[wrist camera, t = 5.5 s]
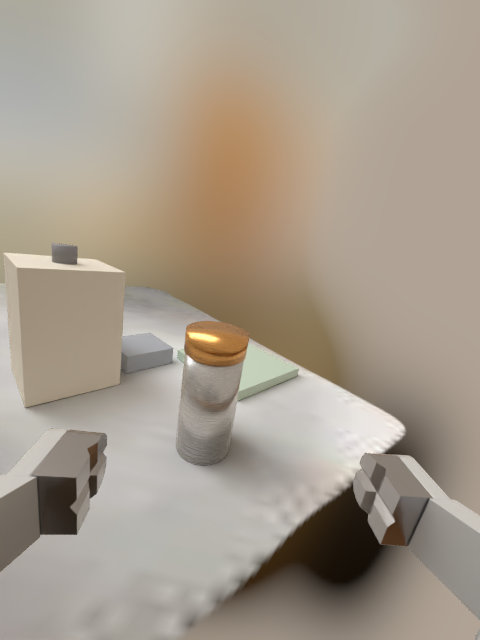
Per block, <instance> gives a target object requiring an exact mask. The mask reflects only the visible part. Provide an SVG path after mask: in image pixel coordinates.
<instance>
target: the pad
mask: <svg viewBox="0 0 480 640" xmlns="http://www.w3.org/2000/svg"><path fill="white" fill-rule="evenodd" d="M177 358H178V359H179V360H181V361H182V362H183V363H184V359H185V351H184V349H181V350H178V355H177ZM298 370H299V368H297V367H295V366H293V365H291V364H289V363H287V362H285V361H283V360H281V359H279V358H277V357H275V356H273V355H271V354H269V353H267V352H265V351H263V350H261V349H259V348H257V347H255V346H253V345H251V344H249V343H248V347H247V353H246V358H245V360H244V363H243V369H242V374H241V380H240V386H239V392H238V398H237V401H239V400H241V399H244V398H246V397H248V396H251V395H253V394H255V393H258V392H260V391H263V390H265V389H267V388H270V387H272V386H275V385H277V384H279V383H282V382H284V381H286V380H289V379H291V378H294V377H296V376H297V374H298Z"/></svg>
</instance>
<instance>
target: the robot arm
mask: <svg viewBox="0 0 480 640" xmlns="http://www.w3.org/2000/svg"><path fill="white" fill-rule="evenodd" d="M106 445H107V435H106V434H105V433H96V432H86V431H76V430H63V429H53V428H51V429H49V430H47V431H46V432H45V433H44V434H43V435H42V436H41V437H40V438H39V439H38V440H37V441H36V442H35V444H34V445H33V446H32V447H31V448H30V449H29V450H28V451H27V452H26V454H25V455H24V456H23V457H22V458H21V459H20V460H19V461H18V462H17V463H16V465H15V466H14V467H13V468H12V469H11V470H10V471H9V472H8V473H7V474H6V475H0V572H1V571H2V570H3V569H4V568H5V567H6V566H8V565H9V564H10V563H11V562H12V561H13V560H14V559H16V558H17V557H18V556H19V555H20V554H21V553H22V552H24V551H25V550H26V549H27V548H28V547H29V546H30V545H32V544H33V543H34V542H35V541H36V540H37V539H38V538H39V537H40V535H77V534H78V532H79V530H80V527H81V525H82V523H83V521H84V519H85V517H86V515H87V513H88V511H89V505H90V498H92V497H93V496H94V495H96V494H97V492H98V490H99V488H100V486H101V483H102V480H103V477H104V474H105V468H106V456H105V455H104V453H103V451H104V449H105V447H106ZM360 465H361V467H362V469H361V470H360V471H358V472H357V473H356V475H355V478H354V481H353V485H354V493H355V497H356V499H357V502H358V504H359V505H360V507H361V508H362V509H363V510H365V511H366V512H367V513H368V514H369V515H368V522H369V524H370V526H371V528H372V530H373V532H374V534H375V535H376V537H377V539H378V541H379V543H380V544H381V545H396V546H408V549H409V550H410V551H411V552H412V553H413V554H414V555H415V556H416V557H417V558H418V559H419V560H420V561H421V562H422V563H423V564H424V565H425V566H426V567H427V568H428V569H429V570H430V571H431V572H432V573H433V574H434V575H435V576H436V577H437V578H438V579H439V580H440V581H441V582H442V583H443V584H444V585H445V586H446V587H447V588H448V589H449V590H450V591H451V592H452V593H453V594H454V595H455V596H456V597H457V598H458V599H459V600H460V601H461V602H462V603H463V604H464V605H465V606H466V607H467V608H468V609H469V610H470V611H471V612H472V613H473V614H474V615H475V616H476V617H477V618H478V619H479V620H480V516H479V515H478V514H476V513H475V512H473V511H471V510H470V509H468V508H467V507H465V506H464V505H462V504H460V503H459V502H457V501H456V500H450V499H449V498H448V496H447V495H446V494H445V493H444V492H443V491H442V490H441V488H440V487H439V486H438V485H437V484H436V483H435V482H434V481H433V480H432V479H431V477H430V476H429V475H428V474H427V473H426V472H425V471H424V470H423V469H422V467H421V466H420V465H419V464H418V463H417V462H416V461H415V460H414V459H413V458H412V457H410V456H407V455H385V454H371V453H365V454H364V455H363V456H362V458H361V460H360ZM475 640H480V630H479V631H478V633H477V634H476V638H475Z"/></svg>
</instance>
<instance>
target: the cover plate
mask: <svg viewBox="0 0 480 640" xmlns="http://www.w3.org/2000/svg"><path fill="white" fill-rule="evenodd" d="M172 355H173V348H172V347H171V346H169V345H168V344H166V343H165V342H163V341H162V340H160V339H159V338H157V337H156V336H154V335H153V334H151V333H146V334H138V335H130V336H123V337H122V351H121V369H122V370H123V371H125V372H126V373H132V372H136V371H140V370H144V369H149V368H153V367H157V366H162V365H166V364H170V363H172Z"/></svg>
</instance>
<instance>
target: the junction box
mask: <svg viewBox="0 0 480 640" xmlns="http://www.w3.org/2000/svg"><path fill="white" fill-rule="evenodd" d="M3 255H4V268H5V282H6V297H7V311H8V325H9V339H10V353H11V367H12V371H13V374H14V377H15V380H16V383H17V386H18V389H19V392H20V394H21V397H22V400H23V403H24V406H25V408H26V407H30V406H34V405H38V404H42V403H46V402H50V401H54V400H58V399H62V398H66V397H70V396H74V395H78V394H82V393H87V392H91V391H95V390H99V389H103V388H107V387H111V386H115V385H119V384H120V372H121V351H122V331H123V310H124V290H125V272H123V271H121V270H118V269H116V268H114V267H112V266H109V265H107V264H105V263H102V262H100V261H98V260H95V259H81V258H77V246H73V245H66V244H55V243H52V256H42V255H28V254H15V253H3Z"/></svg>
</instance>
